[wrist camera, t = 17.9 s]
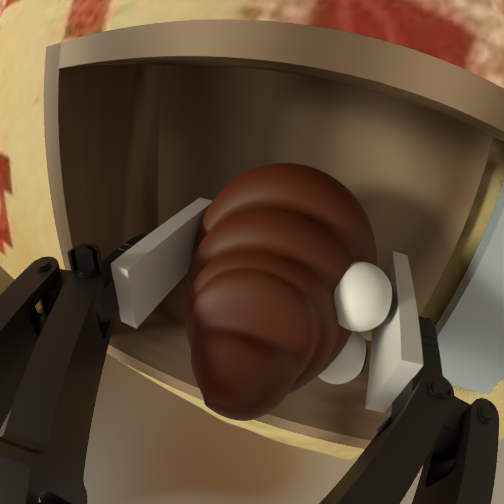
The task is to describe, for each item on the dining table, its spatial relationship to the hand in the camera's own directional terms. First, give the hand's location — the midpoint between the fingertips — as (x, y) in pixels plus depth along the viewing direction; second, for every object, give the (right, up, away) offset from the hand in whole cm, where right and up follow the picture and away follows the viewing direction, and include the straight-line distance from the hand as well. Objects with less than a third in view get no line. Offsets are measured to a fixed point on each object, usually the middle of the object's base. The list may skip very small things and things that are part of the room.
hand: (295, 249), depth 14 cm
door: (+11, -1, +1) cm, 11 cm away
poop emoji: (0, 0, +1) cm, 1 cm away
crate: (0, +3, +4) cm, 5 cm away
